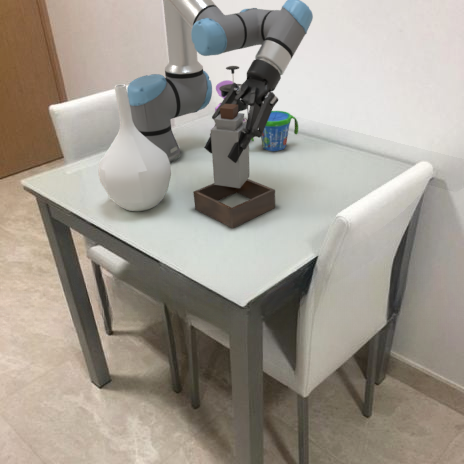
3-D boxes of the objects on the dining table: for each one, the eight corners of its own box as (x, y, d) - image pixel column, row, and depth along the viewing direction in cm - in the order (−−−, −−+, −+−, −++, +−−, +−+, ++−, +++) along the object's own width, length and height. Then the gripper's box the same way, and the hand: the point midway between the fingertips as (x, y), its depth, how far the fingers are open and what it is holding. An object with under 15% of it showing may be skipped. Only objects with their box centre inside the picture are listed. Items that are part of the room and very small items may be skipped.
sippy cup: (253, 156, 157) (252, 123, 151) (247, 144, 165) (246, 113, 159) (302, 151, 158) (303, 118, 152) (293, 139, 167) (294, 108, 160)
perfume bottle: (214, 184, 123) (209, 109, 112) (224, 173, 128) (221, 100, 117) (239, 188, 121) (237, 112, 110) (249, 176, 126) (248, 102, 115)
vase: (183, 190, 140) (170, 75, 122) (161, 221, 126) (142, 97, 108) (122, 186, 143) (100, 75, 125) (94, 217, 129) (65, 96, 111)
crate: (195, 209, 130) (193, 191, 127) (236, 191, 138) (235, 173, 135) (232, 228, 121) (231, 209, 118) (275, 207, 129) (275, 189, 126)
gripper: (308, 84, 113) (258, 174, 115) (246, 70, 126) (201, 152, 127) (293, 64, 107) (240, 159, 109) (229, 51, 120) (182, 136, 121)
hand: (219, 155), depth 118 cm, fingers closed on perfume bottle, 8 cm apart
